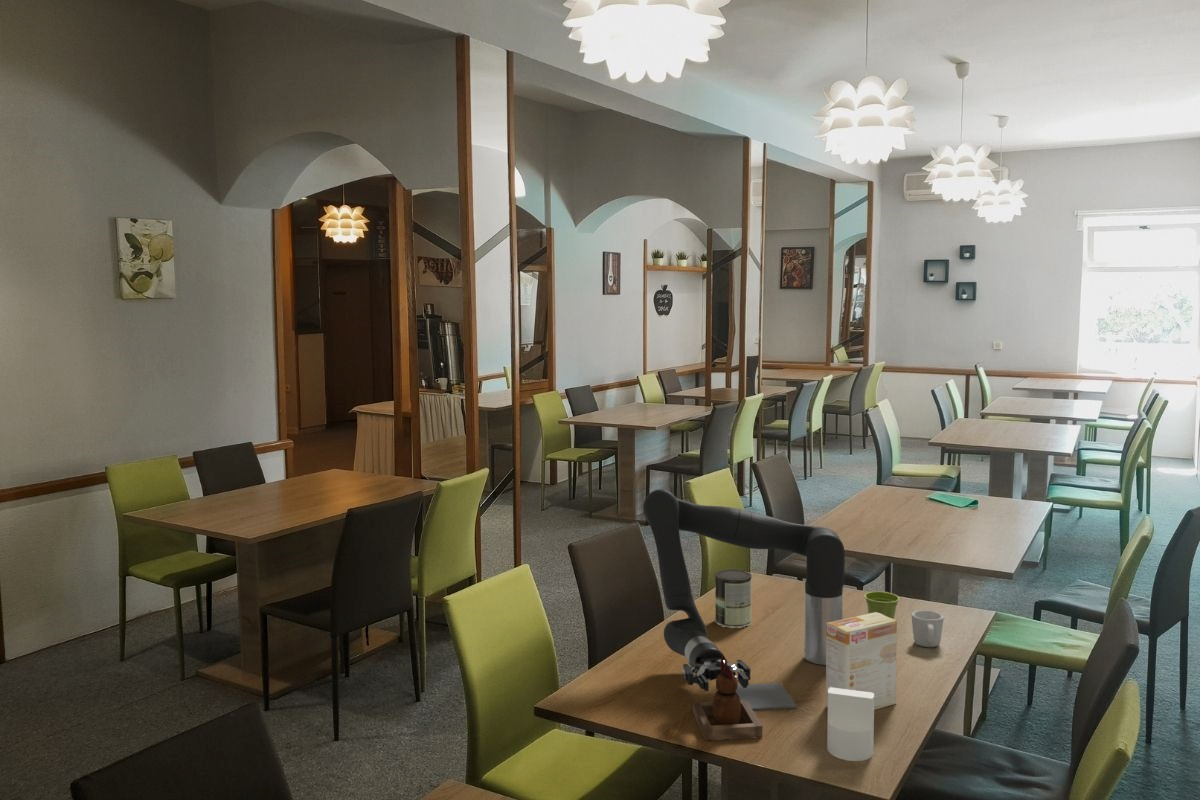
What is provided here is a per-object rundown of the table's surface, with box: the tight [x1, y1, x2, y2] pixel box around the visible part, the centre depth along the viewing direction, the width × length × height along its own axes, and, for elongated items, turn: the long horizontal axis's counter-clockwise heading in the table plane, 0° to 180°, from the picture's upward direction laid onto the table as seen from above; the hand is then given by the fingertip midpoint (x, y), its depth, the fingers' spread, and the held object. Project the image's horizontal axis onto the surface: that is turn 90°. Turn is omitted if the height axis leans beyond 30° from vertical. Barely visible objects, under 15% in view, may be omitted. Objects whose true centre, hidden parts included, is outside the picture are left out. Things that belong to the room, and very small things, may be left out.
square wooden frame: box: [692, 700, 763, 741], centre depth 197 cm, size 12×13×2 cm
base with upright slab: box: [826, 687, 875, 762], centre depth 184 cm, size 9×9×12 cm
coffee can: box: [714, 569, 753, 629], centre depth 261 cm, size 10×10×14 cm
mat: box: [736, 682, 798, 711], centre depth 211 cm, size 13×13×1 cm
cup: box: [911, 609, 945, 648], centre depth 241 cm, size 11×8×8 cm
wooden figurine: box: [712, 654, 742, 725], centre depth 196 cm, size 7×6×15 cm
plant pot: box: [863, 591, 900, 620], centre depth 256 cm, size 9×9×9 cm
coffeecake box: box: [825, 612, 898, 711], centre depth 205 cm, size 15×7×20 cm, turn 117°
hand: (726, 685), depth 195 cm, fingers open, 8 cm apart
